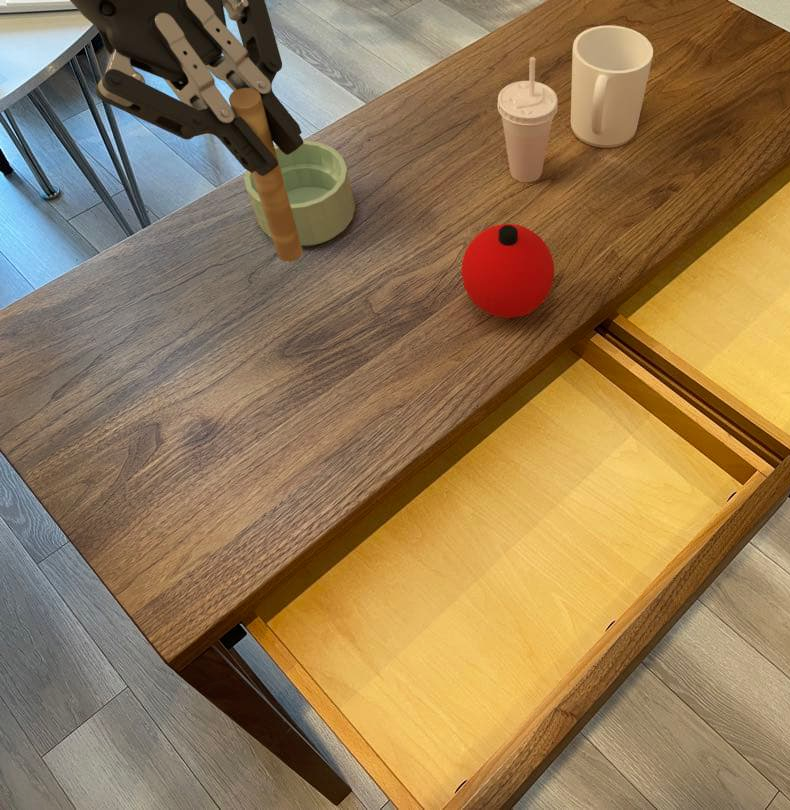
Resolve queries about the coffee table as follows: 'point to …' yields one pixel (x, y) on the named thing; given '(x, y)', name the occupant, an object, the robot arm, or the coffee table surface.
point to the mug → (608, 84)
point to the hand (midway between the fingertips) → (282, 158)
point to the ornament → (507, 270)
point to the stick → (269, 177)
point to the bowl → (311, 192)
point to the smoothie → (527, 124)
